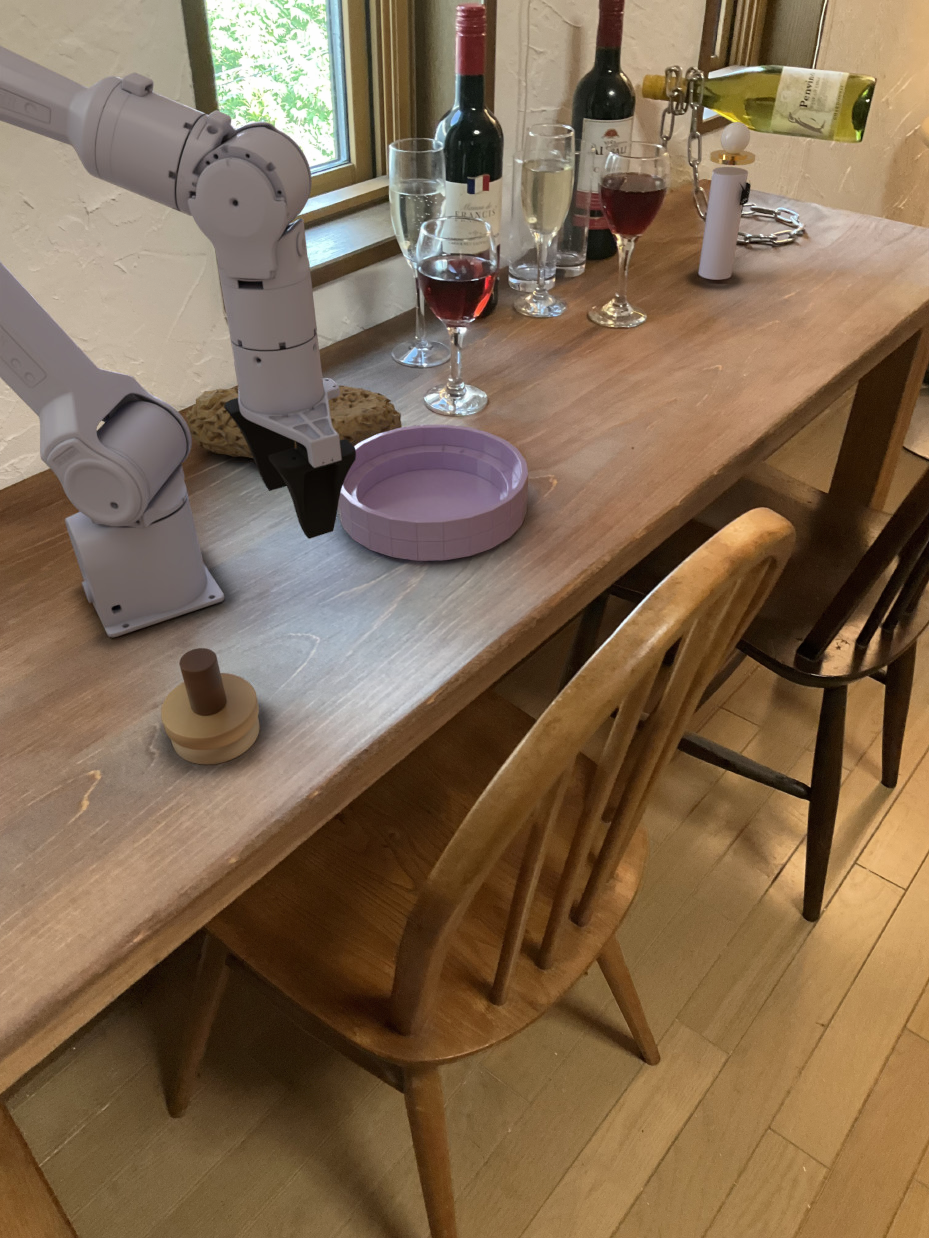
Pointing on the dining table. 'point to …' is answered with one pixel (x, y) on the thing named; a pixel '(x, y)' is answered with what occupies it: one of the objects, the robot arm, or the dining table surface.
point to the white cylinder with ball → (725, 203)
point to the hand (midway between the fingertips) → (299, 508)
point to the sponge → (350, 417)
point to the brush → (210, 711)
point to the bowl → (434, 492)
